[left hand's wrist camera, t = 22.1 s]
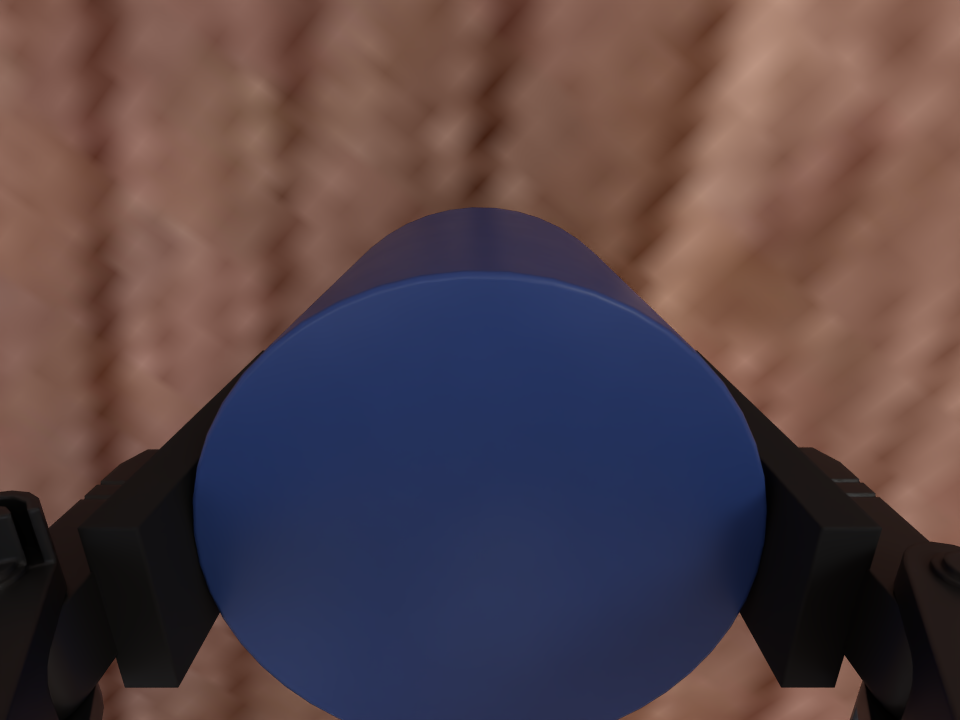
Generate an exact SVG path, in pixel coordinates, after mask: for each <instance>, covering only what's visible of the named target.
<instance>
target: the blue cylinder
mask: <svg viewBox="0 0 960 720" xmlns="http://www.w3.org/2000/svg"><path fill="white" fill-rule="evenodd" d="M766 519H767V504H766V491H765V478H764V473H763V469H762V465H761V461H760V457H759V453H758V449H757V445H756V442H755V440H754V437H753V435H752V433H751V430H750V428H749V426H748V423H747V421H746V419H745V416H744V414H743V412H742V410H741V409H740V407H739V406H738V404H737V403H736V401H735V399H734V398H733V396H732V395H731V393H730V391H729V390H728V388H727V387H726V385H725V384H724V382H723V381H722V380H721V379H720V378H719V376H718V375H717V374H716V373H715V372H714V371H713V370H712V368H711V367H710V366H709V365H708V364H707V363H706V362H705V360H704V359H703V358H702V357H701V356H700V355H699V354H698V353H697V352H696V351H695V350H694V349H693V348H692V347H691V346H690V345H689V344H688V343H687V342H686V341H685V340H684V339H683V338H682V337H681V336H680V335H679V334H678V333H677V332H676V331H674V330H673V329H672V328H671V327H670V326H669V325H668V324H667V323H666V322H665V321H664V320H663V319H662V318H661V317H660V316H659V315H658V314H657V313H656V312H655V311H654V310H653V309H652V308H651V307H650V306H649V305H648V304H646V303H645V302H644V301H643V300H642V299H641V298H640V297H639V296H638V295H637V294H636V293H635V292H634V291H633V290H632V289H631V288H630V287H629V286H628V285H627V284H626V283H625V282H624V281H623V280H622V279H621V278H619V277H618V276H617V275H616V274H615V273H614V272H613V271H612V270H611V269H610V268H609V267H608V266H607V265H606V264H605V263H604V262H603V261H602V260H601V259H600V258H599V257H598V256H597V255H596V254H595V253H593V252H592V251H591V250H590V249H589V248H588V247H586V246H585V245H584V244H583V243H582V242H581V241H579V240H578V239H577V238H575V237H574V236H572V235H570V234H569V233H567V232H566V231H564V230H563V229H561V228H559V227H557V226H555V225H553V224H551V223H549V222H546V221H544V220H542V219H540V218H537V217H534V216H530V215H527V214H524V213H521V212H517V211H511V210H504V209H498V208H473V207H472V208H463V209H454V210H448V211H444V212H440V213H436V214H432V215H428V216H425V217H423V218H420V219H418V220H416V221H413V222H411V223H408V224H406V225H404V226H403V227H401V228H399V229H397V230H396V231H394V232H392V233H390V234H389V235H387V236H386V237H384V238H383V239H382V240H381V241H379V242H378V243H377V244H375V245H374V246H373V247H372V248H370V249H369V250H368V251H367V252H366V253H365V254H364V255H363V256H362V257H361V258H360V259H359V260H358V261H357V262H356V263H355V264H354V265H353V266H352V267H351V268H350V269H349V270H348V271H347V272H345V273H344V274H343V275H342V276H341V277H340V278H339V279H338V280H337V281H336V282H335V283H334V284H333V285H332V286H331V287H330V288H329V289H328V290H327V291H326V292H325V293H324V294H323V295H322V296H321V297H320V298H319V299H318V300H316V301H315V302H314V303H313V304H312V305H311V306H310V307H309V308H308V309H307V310H306V311H305V312H304V313H303V314H302V315H301V316H300V317H299V318H298V319H297V320H296V321H295V322H294V323H293V324H292V325H291V326H290V327H288V328H287V329H286V330H285V331H284V332H283V333H282V334H281V335H280V336H279V337H278V338H277V339H276V340H275V341H274V342H273V343H272V344H271V345H270V346H269V347H268V348H267V349H266V350H265V351H264V352H263V353H262V354H261V355H260V356H259V357H258V358H257V359H256V360H255V361H254V362H253V363H252V364H251V365H250V366H249V368H248V369H247V370H246V371H245V372H244V373H243V374H242V375H241V377H240V378H239V380H238V381H237V383H236V384H235V385H234V387H233V388H232V390H231V391H230V392H229V394H228V395H227V397H226V398H225V400H224V401H223V402H222V404H221V406H220V408H219V410H218V412H217V414H216V416H215V419H214V421H213V423H212V425H211V427H210V429H209V431H208V433H207V435H206V439H205V442H204V445H203V449H202V452H201V455H200V458H199V462H198V465H197V471H196V479H195V486H194V494H193V528H194V537H195V542H196V548H197V553H198V558H199V563H200V566H201V569H202V572H203V575H204V578H205V580H206V583H207V586H208V589H209V592H210V594H211V596H212V598H213V600H214V601H215V603H216V605H217V607H218V609H219V611H220V613H221V615H222V617H223V619H224V620H225V622H226V623H227V624H228V626H229V627H230V629H231V630H232V631H233V633H234V634H235V636H236V637H237V639H238V640H239V641H240V643H241V644H242V645H243V646H244V647H245V648H246V650H247V651H248V652H249V653H250V654H251V655H252V656H253V657H254V658H255V659H256V660H257V662H258V663H259V664H260V665H261V666H262V667H263V668H264V669H266V670H267V671H268V672H269V673H270V674H271V675H273V676H274V677H275V678H276V679H277V680H278V681H280V682H281V683H282V684H283V685H284V686H286V687H287V688H289V689H290V690H291V691H293V692H294V693H296V694H297V695H299V696H300V697H302V698H303V699H305V700H306V701H308V702H309V703H311V704H312V705H314V706H316V707H318V708H320V709H322V710H324V711H326V712H327V713H329V714H331V715H333V716H335V717H337V718H339V719H341V720H618V719H620V718H622V717H624V716H626V715H628V714H630V713H632V712H634V711H636V710H638V709H640V708H642V707H643V706H645V705H647V704H648V703H650V702H651V701H653V700H655V699H656V698H658V697H659V696H661V695H663V694H664V693H666V692H667V691H668V690H670V689H671V688H672V687H673V686H675V685H676V684H677V683H678V682H680V681H681V680H682V679H683V678H685V677H686V676H687V675H689V674H690V673H691V672H692V671H693V670H694V669H695V668H696V667H697V666H698V665H699V664H700V663H701V662H702V661H703V660H704V659H705V658H706V657H707V656H708V655H709V654H710V653H711V652H712V651H713V649H714V648H715V647H716V645H717V644H718V643H719V642H720V640H721V639H722V638H723V636H724V635H725V634H726V632H727V631H728V630H729V629H730V627H731V626H732V624H733V622H734V620H735V619H736V617H737V615H738V614H739V612H740V610H741V608H742V607H743V605H744V603H745V601H746V599H747V597H748V594H749V592H750V589H751V587H752V585H753V582H754V580H755V577H756V575H757V572H758V568H759V564H760V559H761V555H762V551H763V547H764V543H765V531H766Z"/></svg>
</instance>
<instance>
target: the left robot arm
mask: <svg viewBox="0 0 960 720" xmlns="http://www.w3.org/2000/svg"><path fill="white" fill-rule="evenodd" d="M263 352H264V351H262V352H261V353H260V354H259V355H257V356H256V357H255V358H254V359H253V360H252V361H251V362H250V363H249V364H248V365H247V366H246V367H245V368H244V369H243V370H242V371H241V372H240V373H239V374H238V375H237V376H236V377H235V378H233V379H232V380H231V381H230V382H229V383H228V384H227V385H226V386H225V387H224V388H223V389H222V390H221V391H220V392H219V393H218V394H217V395H216V396H215V397H214V398H213V399H212V400H210V401H209V402H208V403H207V404H206V405H205V406H204V407H203V408H202V409H201V410H200V411H199V412H198V413H197V414H196V415H195V416H194V417H193V418H192V419H191V420H190V421H189V422H188V423H186V424H185V425H184V426H183V427H182V428H181V429H180V430H179V431H178V432H177V433H176V434H175V435H174V436H173V437H172V438H171V439H170V440H169V441H168V442H167V443H166V444H165V445H164V446H162V447H161V448H160V449H159V450H146V451H144V452H142V453H140V454H138V455H136V456H135V457H133V458H131V459H129V460H127V461H125V462H123V463H121V464H120V465H119V466H118V467H116V468H115V469H114V470H113V471H112V472H111V473H110V474H109V475H107V476H106V477H105V478H104V479H103V480H102V481H101V485H96V486H95V487H94V488H93V489H92V490H91V491H90V492H88V493H87V494H86V495H85V499H84V500H80V501H78V502H77V503H76V504H75V505H74V506H73V507H72V508H71V509H69V510H68V511H67V512H66V513H65V514H64V515H63V516H62V517H60V518H59V519H58V520H57V521H56V522H55V523H54V524H53V525H52V526H50V527H49V528H48V525H47V522H46V519H45V516H44V513H43V510H42V506H41V503H40V500H39V498H38V497H36V496H35V495H33V494H31V493H30V492H21V491H5V492H0V720H102V716H103V709H104V705H103V698H102V693H101V690H100V687H99V684H98V681H99V680H100V679H101V677H102V676H103V674H104V673H105V672H106V670H107V669H108V667H109V666H110V665H111V663H112V662H113V660H114V659H115V657H116V659H117V663H118V666H119V669H120V673H121V676H122V679H123V683H124V686H125V688H178V687H179V685H180V684H181V682H182V680H183V678H184V676H185V675H186V673H187V671H188V669H189V667H190V665H191V664H192V662H193V660H194V658H195V656H196V655H197V653H198V651H199V649H200V647H201V646H202V644H203V642H204V640H205V638H206V637H207V635H208V633H209V631H210V629H211V627H212V626H213V624H214V622H215V620H216V618H217V617H218V615H219V613H220V611H219V609H218V607H217V605H216V603H215V601H214V600H213V598H212V596H211V594H210V592H209V589H208V586H207V583H206V580H205V578H204V575H203V572H202V569H201V566H200V563H199V558H198V553H197V548H196V542H195V537H194V528H193V494H194V486H195V479H196V471H197V465H198V462H199V458H200V455H201V452H202V449H203V445H204V442H205V439H206V435H207V433H208V431H209V429H210V427H211V425H212V423H213V421H214V419H215V416H216V414H217V412H218V410H219V408H220V406H221V404H222V402H223V401H224V400H225V398H226V397H227V395H228V394H229V392H230V391H231V390H232V388H233V387H234V385H235V384H236V383H237V381H238V380H239V378H240V377H241V375H242V374H243V373H244V372H245V371H246V370H247V369H248V368H249V366H250V365H251V364H252V363H253V362H254V361H255V360H256V359H257V358H258V357H259V356H260V355H261V354H262V353H263ZM696 352H697V353H698V354H699V355H700V356H701V357H702V358H703V359H704V360H705V362H706V363H707V364H708V365H709V366H710V367H711V368H712V370H713V371H714V372H715V373H716V374H717V375H718V376H719V378H720V379H721V380H722V381H723V382H724V384H725V385H726V387H727V388H728V390H729V391H730V393H731V395H732V396H733V398H734V399H735V401H736V403H737V404H738V406H739V407H740V409H741V410H742V412H743V414H744V416H745V419H746V421H747V423H748V426H749V428H750V430H751V433H752V435H753V437H754V440H755V442H756V445H757V449H758V453H759V457H760V461H761V465H762V469H763V473H764V478H765V491H766V504H767V519H766V531H765V543H764V547H763V551H762V555H761V559H760V564H759V568H758V572H757V575H756V577H755V580H754V582H753V585H752V587H751V589H750V592H749V594H748V597H747V599H746V601H745V603H744V605H743V607H742V608H741V610H740V614H741V616H742V617H743V619H744V621H745V623H746V625H747V626H748V628H749V630H750V632H751V634H752V635H753V637H754V639H755V641H756V643H757V644H758V646H759V648H760V650H761V652H762V654H763V655H764V657H765V659H766V661H767V663H768V664H769V666H770V668H771V670H772V672H773V673H774V675H775V677H776V679H777V681H778V682H779V684H780V686H781V687H825V688H835V684H836V681H837V678H838V674H839V671H840V668H841V664H842V661H843V658H844V655H845V656H846V658H847V659H848V660H849V662H850V663H851V665H852V666H853V668H854V669H855V670H856V672H857V673H858V675H859V676H860V677H861V679H862V680H863V681H862V684H861V687H860V690H859V693H858V696H857V699H856V702H855V706H854V709H853V712H852V715H851V718H850V720H960V547H958V546H955V545H951V544H944V543H937V542H929V541H928V540H927V539H926V538H925V537H924V536H923V535H922V534H920V533H919V532H918V531H917V530H916V529H915V528H914V527H913V526H911V525H910V524H909V523H908V522H907V521H906V520H905V519H904V518H902V517H901V516H900V515H899V514H898V513H897V512H896V511H894V510H893V509H892V508H891V507H890V506H889V505H888V504H887V503H885V502H884V501H883V500H882V499H881V498H880V497H876V496H875V493H874V492H873V491H872V490H871V489H870V488H869V487H867V486H866V485H865V484H864V483H860V482H859V479H858V478H857V477H856V476H855V475H854V474H853V473H852V472H851V471H849V470H848V469H847V468H846V467H845V466H844V465H843V464H842V463H840V462H839V461H837V460H835V459H833V458H831V457H829V456H827V455H826V454H824V453H822V452H820V451H818V450H816V449H814V448H798V447H797V446H796V445H795V444H794V443H793V442H792V441H791V440H790V439H789V438H788V437H787V436H786V435H785V434H784V433H782V432H781V431H780V430H779V429H778V428H777V427H776V426H775V425H774V424H773V423H772V422H771V421H770V420H769V419H768V418H767V417H766V416H765V415H764V414H763V413H762V412H761V411H760V410H758V409H757V408H756V407H755V406H754V405H753V404H752V403H751V402H750V401H749V400H748V399H747V398H746V397H745V396H744V395H743V394H742V393H741V392H740V391H739V390H738V389H737V388H736V387H734V386H733V385H732V384H731V383H730V382H729V381H728V380H727V379H726V378H725V377H724V376H723V375H722V374H721V373H720V372H719V371H718V370H717V369H716V368H715V367H714V366H713V365H712V364H710V363H709V362H708V361H707V360H706V359H705V358H704V357H703V356H702V355H701V354H700V353H699V352H698V351H696Z"/></svg>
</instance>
